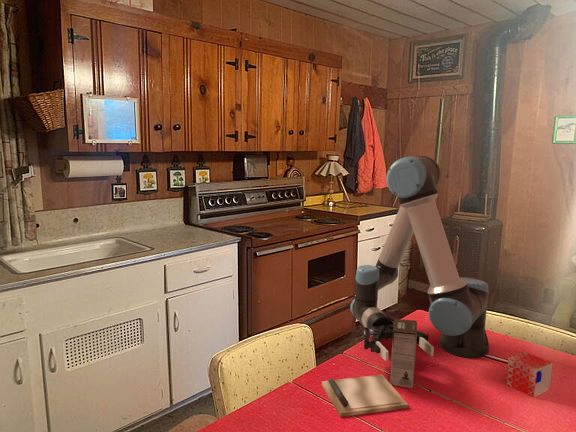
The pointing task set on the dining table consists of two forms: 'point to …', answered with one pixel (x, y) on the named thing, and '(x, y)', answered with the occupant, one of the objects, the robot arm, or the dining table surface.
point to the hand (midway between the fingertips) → (410, 354)
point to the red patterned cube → (528, 373)
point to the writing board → (363, 395)
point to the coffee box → (403, 352)
